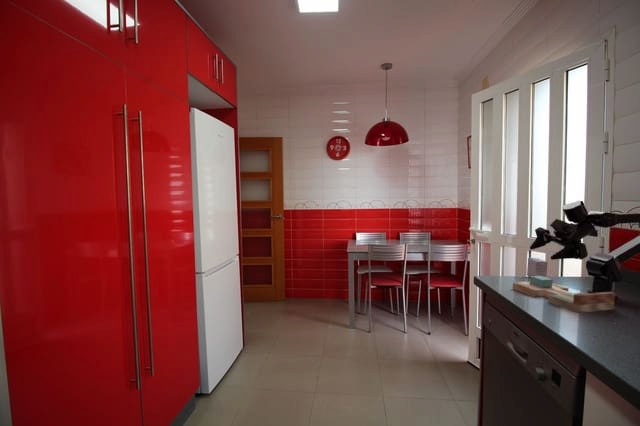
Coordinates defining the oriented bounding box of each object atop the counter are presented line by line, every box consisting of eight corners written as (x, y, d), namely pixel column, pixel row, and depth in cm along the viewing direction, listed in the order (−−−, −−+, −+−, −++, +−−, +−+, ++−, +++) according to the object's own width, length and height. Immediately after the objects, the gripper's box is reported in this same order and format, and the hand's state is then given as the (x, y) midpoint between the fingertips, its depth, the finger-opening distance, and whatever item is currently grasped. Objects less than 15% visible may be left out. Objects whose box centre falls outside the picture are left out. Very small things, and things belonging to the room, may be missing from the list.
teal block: (539, 283, 119) (540, 275, 119) (552, 287, 114) (552, 279, 114) (529, 283, 118) (530, 276, 118) (541, 287, 113) (542, 280, 113)
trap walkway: (543, 286, 123) (544, 273, 123) (613, 309, 100) (615, 293, 99) (512, 288, 119) (513, 275, 119) (577, 312, 96) (578, 296, 96)
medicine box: (546, 281, 130) (548, 262, 130) (534, 280, 131) (536, 261, 131) (537, 276, 138) (538, 258, 137) (526, 275, 139) (527, 257, 138)
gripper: (549, 208, 119) (515, 228, 119) (597, 222, 101) (557, 246, 102) (555, 230, 123) (522, 250, 123) (603, 248, 105) (564, 270, 105)
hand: (540, 253), depth 113 cm, fingers open, 9 cm apart
